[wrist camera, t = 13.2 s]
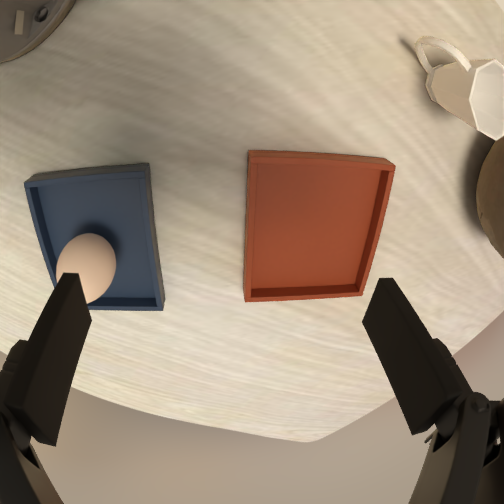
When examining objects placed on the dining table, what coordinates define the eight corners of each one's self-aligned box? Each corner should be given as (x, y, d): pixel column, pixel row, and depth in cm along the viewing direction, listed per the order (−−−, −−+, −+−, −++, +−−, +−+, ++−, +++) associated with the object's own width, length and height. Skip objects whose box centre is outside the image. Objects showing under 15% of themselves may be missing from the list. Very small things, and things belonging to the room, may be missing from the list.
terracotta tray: (248, 149, 27) (250, 156, 25) (385, 158, 28) (396, 165, 26) (243, 289, 35) (244, 302, 33) (356, 284, 36) (362, 296, 35)
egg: (122, 222, 28) (98, 273, 22) (124, 270, 31) (106, 325, 25) (70, 218, 27) (37, 265, 21) (76, 264, 30) (50, 316, 24)
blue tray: (33, 174, 25) (23, 182, 23) (149, 163, 26) (144, 170, 25) (67, 297, 33) (62, 308, 31) (165, 298, 35) (163, 311, 33)
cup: (443, 131, 27) (495, 157, 20) (379, 64, 23) (432, 71, 16) (475, 86, 24) (529, 103, 17) (417, 16, 20) (473, 12, 13)
